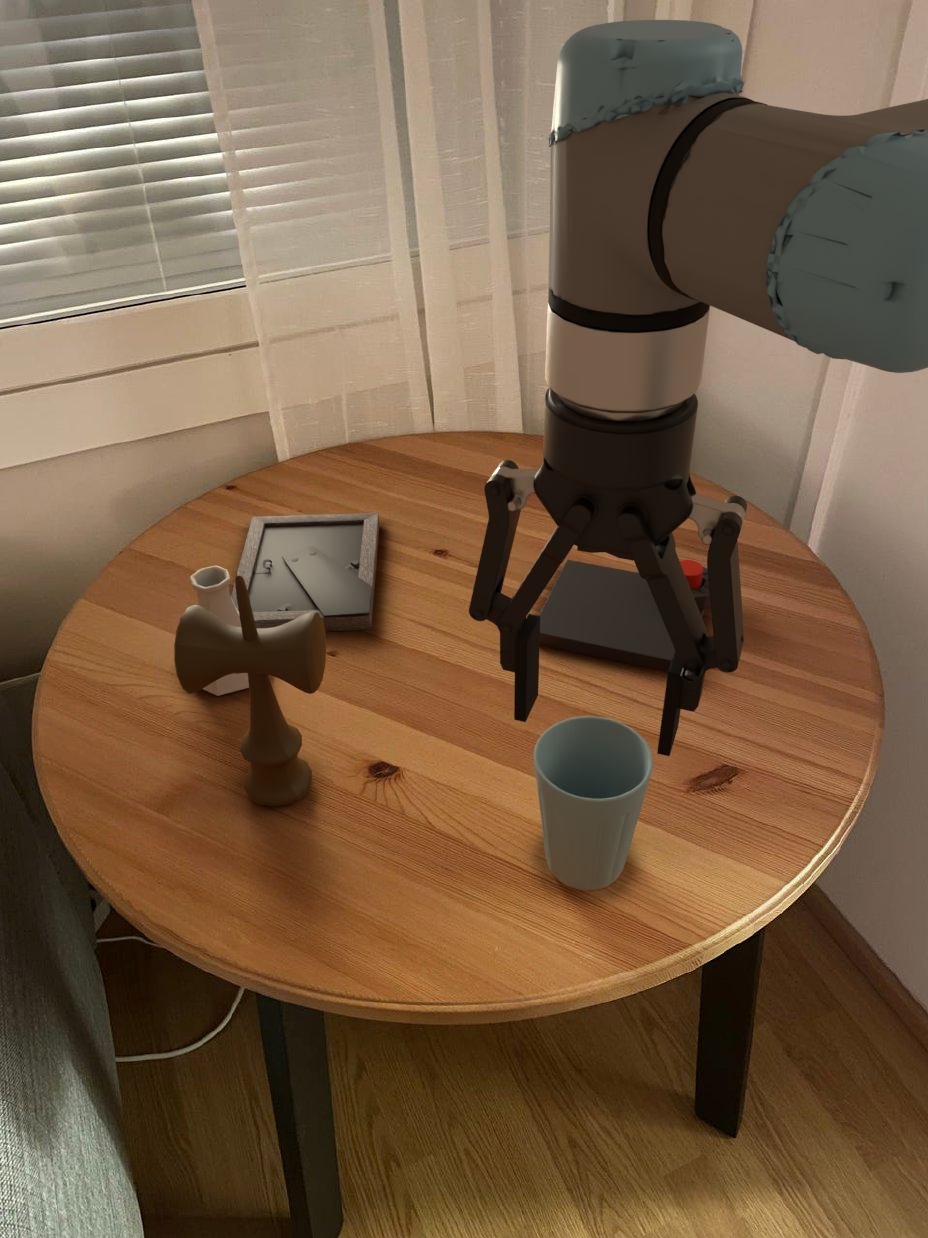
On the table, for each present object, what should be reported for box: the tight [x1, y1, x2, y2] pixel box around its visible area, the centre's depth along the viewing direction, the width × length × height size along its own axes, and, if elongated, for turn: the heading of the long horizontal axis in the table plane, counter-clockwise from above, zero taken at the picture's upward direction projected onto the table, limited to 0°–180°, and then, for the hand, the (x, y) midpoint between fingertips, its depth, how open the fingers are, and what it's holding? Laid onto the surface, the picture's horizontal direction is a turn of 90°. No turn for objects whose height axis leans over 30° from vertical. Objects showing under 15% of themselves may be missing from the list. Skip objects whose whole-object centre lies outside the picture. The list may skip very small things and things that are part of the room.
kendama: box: [173, 574, 327, 807], centre depth 71 cm, size 6×10×20 cm, turn 86°
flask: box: [189, 565, 249, 697], centre depth 86 cm, size 7×7×10 cm
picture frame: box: [230, 512, 380, 632], centre depth 99 cm, size 13×2×18 cm
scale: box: [538, 559, 711, 673], centre depth 92 cm, size 15×13×3 cm
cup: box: [533, 715, 654, 891], centre depth 68 cm, size 8×8×10 cm
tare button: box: [679, 559, 704, 590], centre depth 92 cm, size 3×3×2 cm
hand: (595, 723), depth 63 cm, fingers open, 8 cm apart
